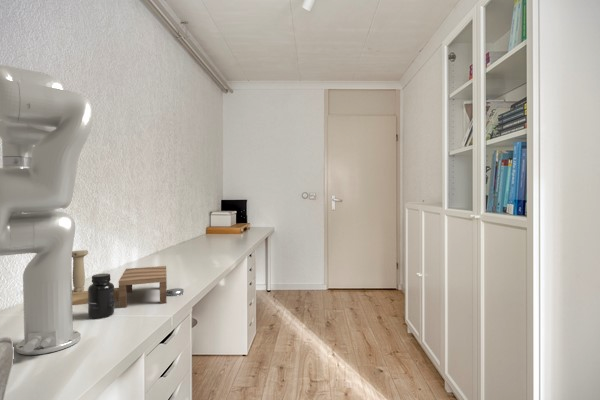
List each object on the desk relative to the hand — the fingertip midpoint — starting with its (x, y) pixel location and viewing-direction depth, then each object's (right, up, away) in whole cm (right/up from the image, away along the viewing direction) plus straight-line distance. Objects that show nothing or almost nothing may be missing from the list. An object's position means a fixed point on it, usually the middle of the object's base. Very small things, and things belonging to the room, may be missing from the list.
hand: (19, 221), depth 110 cm
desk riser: (+30, -28, +18) cm, 45 cm away
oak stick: (+12, -28, +12) cm, 33 cm away
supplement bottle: (+25, -28, -2) cm, 38 cm away
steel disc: (+39, -28, +22) cm, 53 cm away
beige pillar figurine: (+1, -28, +28) cm, 40 cm away
